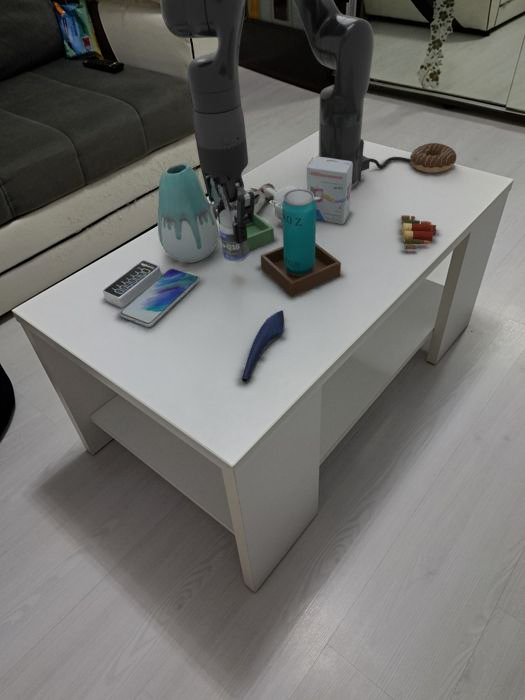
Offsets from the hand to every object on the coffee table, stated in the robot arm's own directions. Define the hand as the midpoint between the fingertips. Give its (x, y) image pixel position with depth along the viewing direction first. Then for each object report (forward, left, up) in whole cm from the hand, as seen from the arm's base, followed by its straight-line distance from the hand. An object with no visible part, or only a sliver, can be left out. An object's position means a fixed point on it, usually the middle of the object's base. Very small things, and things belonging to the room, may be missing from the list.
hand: (233, 233), depth 86 cm
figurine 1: (-13, -19, -10) cm, 25 cm away
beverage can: (-11, +5, -10) cm, 15 cm away
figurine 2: (-19, -10, -10) cm, 24 cm away
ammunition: (-34, +7, -9) cm, 36 cm away
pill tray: (-8, -11, -10) cm, 17 cm away
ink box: (-27, -8, -10) cm, 30 cm away
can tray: (-11, +5, -10) cm, 15 cm away
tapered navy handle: (+6, +18, -10) cm, 21 cm away
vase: (+3, -13, -10) cm, 17 cm away
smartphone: (+14, -3, -10) cm, 18 cm away
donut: (-60, -12, -10) cm, 62 cm away
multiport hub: (+17, -9, -10) cm, 22 cm away
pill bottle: (0, 0, -5) cm, 5 cm away
